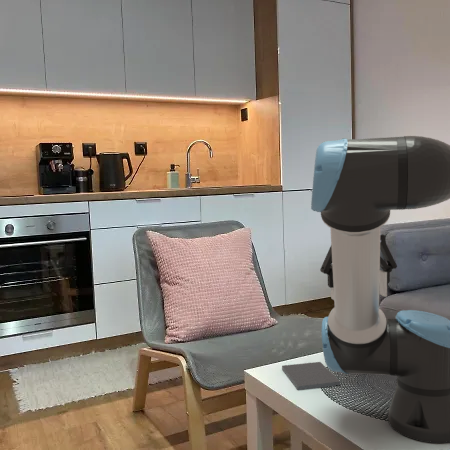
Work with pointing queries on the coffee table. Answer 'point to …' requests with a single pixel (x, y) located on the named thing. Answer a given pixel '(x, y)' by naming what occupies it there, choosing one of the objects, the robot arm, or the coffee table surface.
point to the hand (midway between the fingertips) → (359, 297)
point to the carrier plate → (310, 375)
